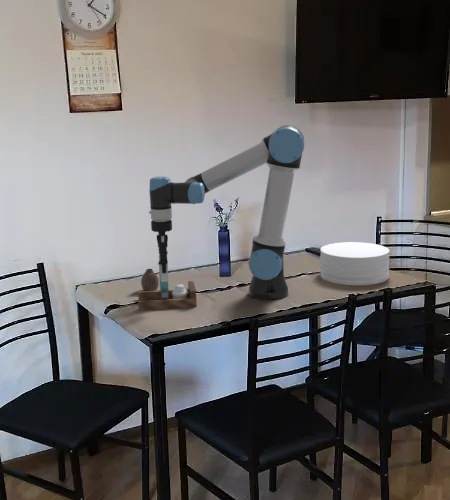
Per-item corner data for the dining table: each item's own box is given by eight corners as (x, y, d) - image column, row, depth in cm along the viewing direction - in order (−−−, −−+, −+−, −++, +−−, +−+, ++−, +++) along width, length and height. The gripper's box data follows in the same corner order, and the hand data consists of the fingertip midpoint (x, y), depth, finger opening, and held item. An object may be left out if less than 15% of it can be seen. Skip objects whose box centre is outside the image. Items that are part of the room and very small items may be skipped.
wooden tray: (193, 296, 265) (193, 281, 264) (196, 306, 252) (196, 290, 251) (138, 299, 263) (137, 283, 262) (138, 310, 250) (137, 294, 248)
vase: (145, 294, 269) (144, 272, 267) (139, 290, 275) (137, 268, 273) (161, 291, 272) (160, 270, 270) (155, 287, 278) (154, 266, 276)
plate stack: (400, 282, 279) (401, 254, 276) (335, 288, 272) (336, 259, 270) (370, 265, 305) (371, 240, 302) (310, 270, 299) (310, 244, 296)
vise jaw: (168, 298, 262) (166, 257, 259) (169, 306, 253) (167, 263, 249) (160, 298, 262) (158, 257, 258) (161, 306, 253) (159, 264, 249)
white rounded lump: (184, 305, 254) (183, 287, 253) (169, 303, 256) (168, 285, 255) (191, 300, 260) (190, 282, 258) (176, 299, 262) (176, 281, 260)
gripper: (150, 214, 262) (153, 268, 267) (151, 226, 238) (154, 286, 243) (170, 213, 263) (172, 267, 268) (173, 225, 239) (175, 285, 243)
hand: (163, 276), depth 255 cm, fingers open, 13 cm apart
